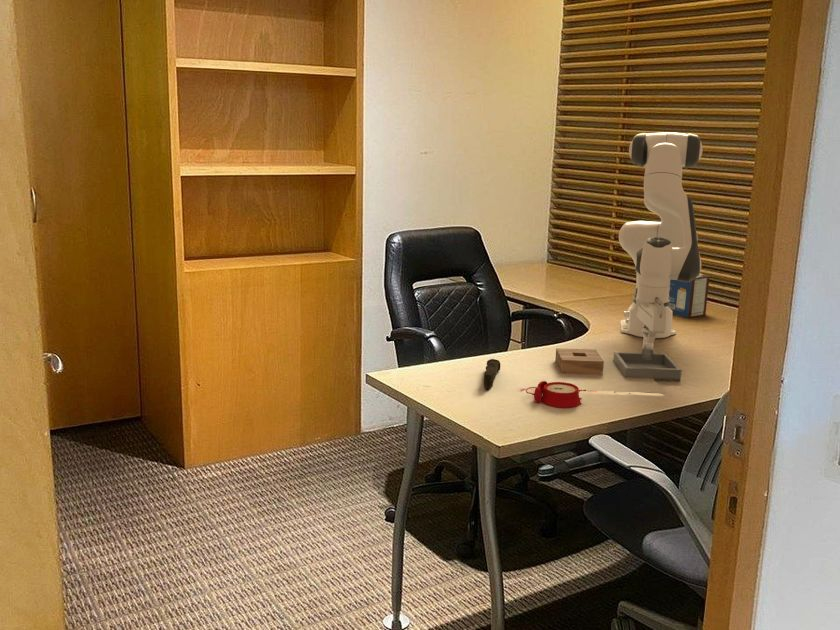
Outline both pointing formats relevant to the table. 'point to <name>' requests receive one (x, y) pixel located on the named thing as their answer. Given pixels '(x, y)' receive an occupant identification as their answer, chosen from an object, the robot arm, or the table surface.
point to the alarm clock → (557, 394)
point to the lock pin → (646, 345)
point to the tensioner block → (579, 361)
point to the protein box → (689, 296)
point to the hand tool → (491, 373)
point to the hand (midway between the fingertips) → (648, 340)
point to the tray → (647, 366)
